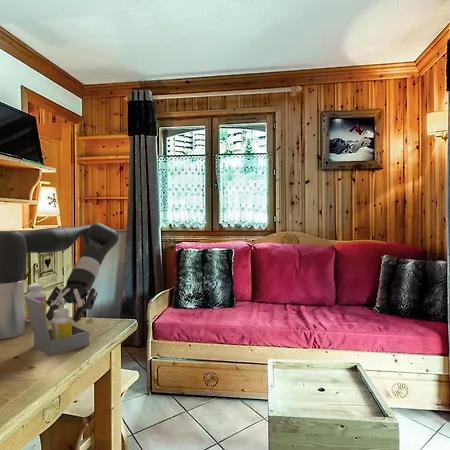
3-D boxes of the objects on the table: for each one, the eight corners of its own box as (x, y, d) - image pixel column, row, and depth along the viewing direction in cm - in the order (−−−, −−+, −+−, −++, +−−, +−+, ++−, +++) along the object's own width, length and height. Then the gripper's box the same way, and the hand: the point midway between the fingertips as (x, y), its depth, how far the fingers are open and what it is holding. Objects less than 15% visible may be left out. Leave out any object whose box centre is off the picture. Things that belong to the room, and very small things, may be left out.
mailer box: (25, 348, 100) (24, 296, 100) (72, 336, 110) (71, 288, 110) (41, 359, 93) (39, 302, 92) (89, 344, 103) (88, 293, 103)
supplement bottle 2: (75, 340, 105) (74, 307, 105) (65, 347, 100) (64, 312, 99) (58, 339, 106) (57, 307, 105) (47, 346, 100) (46, 312, 100)
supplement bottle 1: (35, 323, 124) (34, 287, 124) (21, 322, 126) (20, 286, 126) (50, 318, 130) (49, 284, 130) (36, 316, 132) (36, 283, 132)
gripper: (108, 281, 114) (89, 327, 103) (69, 280, 117) (46, 325, 106) (99, 267, 108) (77, 315, 98) (58, 266, 111) (33, 312, 100)
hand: (61, 320), depth 102 cm, fingers open, 8 cm apart
